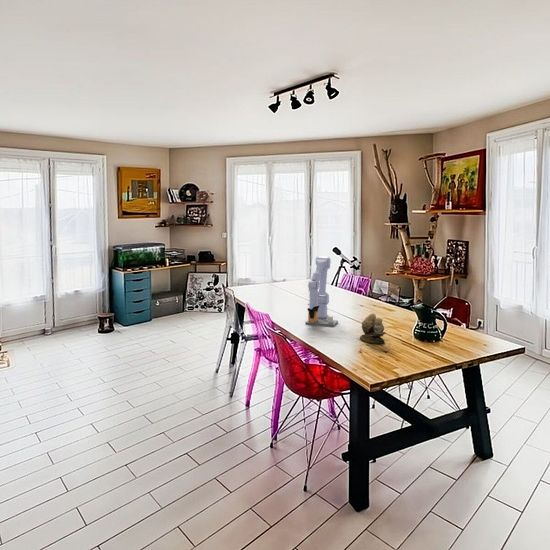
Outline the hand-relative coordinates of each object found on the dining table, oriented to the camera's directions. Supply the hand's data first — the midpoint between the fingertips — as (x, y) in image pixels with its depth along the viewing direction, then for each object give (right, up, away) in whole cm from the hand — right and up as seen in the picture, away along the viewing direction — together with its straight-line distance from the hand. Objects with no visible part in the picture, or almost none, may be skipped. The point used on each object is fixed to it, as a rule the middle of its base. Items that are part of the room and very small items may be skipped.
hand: (313, 317), depth 303 cm
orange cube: (0, -2, 0) cm, 2 cm away
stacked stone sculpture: (+32, -10, -41) cm, 53 cm away
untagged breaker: (+11, -3, -4) cm, 12 cm away
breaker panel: (+6, -4, -1) cm, 7 cm away
